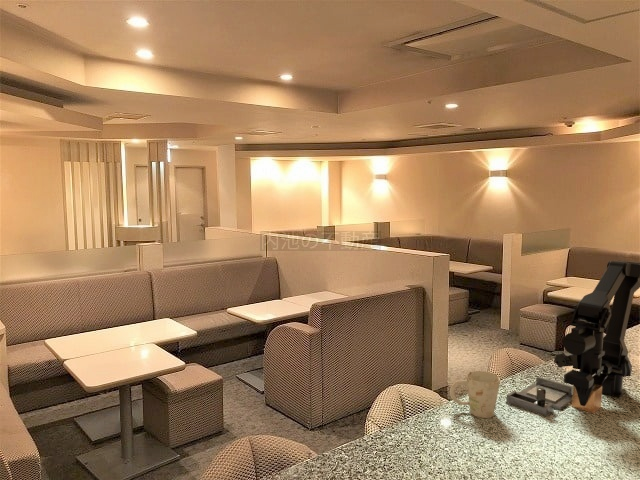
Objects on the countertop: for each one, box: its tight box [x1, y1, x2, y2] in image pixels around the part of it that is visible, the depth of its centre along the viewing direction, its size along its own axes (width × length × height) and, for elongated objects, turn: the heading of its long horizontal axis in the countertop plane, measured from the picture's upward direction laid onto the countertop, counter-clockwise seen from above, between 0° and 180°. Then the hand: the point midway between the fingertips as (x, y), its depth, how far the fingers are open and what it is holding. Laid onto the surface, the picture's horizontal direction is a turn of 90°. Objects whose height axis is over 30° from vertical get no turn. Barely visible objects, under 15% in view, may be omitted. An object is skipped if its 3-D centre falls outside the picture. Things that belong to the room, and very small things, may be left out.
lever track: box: [505, 390, 554, 417], centre depth 136 cm, size 4×11×2 cm, turn 43°
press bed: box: [518, 376, 573, 411], centre depth 142 cm, size 11×12×3 cm
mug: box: [449, 370, 501, 419], centre depth 132 cm, size 8×13×10 cm, turn 78°
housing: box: [571, 383, 603, 414], centre depth 136 cm, size 6×6×6 cm
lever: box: [534, 388, 547, 407], centre depth 133 cm, size 2×3×5 cm
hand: (586, 402), depth 136 cm, fingers closed on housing, 5 cm apart
